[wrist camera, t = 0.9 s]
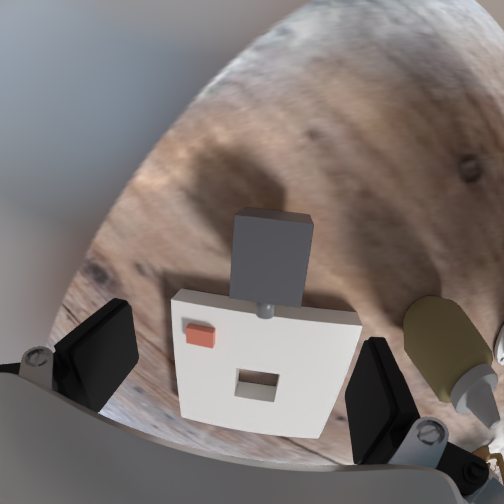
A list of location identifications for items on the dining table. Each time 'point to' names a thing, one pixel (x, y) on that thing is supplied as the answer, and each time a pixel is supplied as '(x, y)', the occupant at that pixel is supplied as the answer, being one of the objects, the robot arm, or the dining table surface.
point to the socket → (260, 363)
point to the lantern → (486, 456)
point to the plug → (270, 258)
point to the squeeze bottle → (452, 357)
